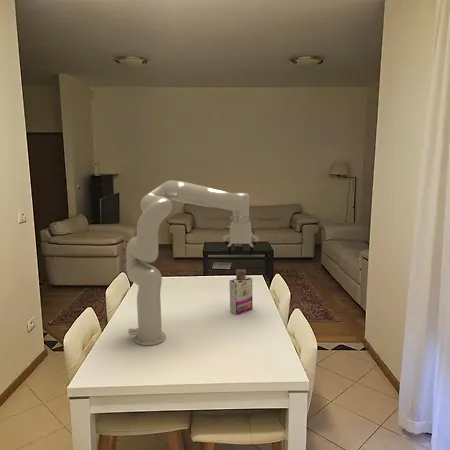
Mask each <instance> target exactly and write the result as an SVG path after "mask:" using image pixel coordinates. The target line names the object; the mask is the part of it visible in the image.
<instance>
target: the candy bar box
mask: <svg viewBox="0 0 450 450" xmlns="http://www.w3.org/2000/svg"><path fill="white" fill-rule="evenodd" d="M250 310H253V277H252V276H248V275H246V280H236V278H234V279H230V280H229V311H230V313H231V314H234V315H235V316H238V315H240V314H243V313H246V312H248V311H250Z"/></svg>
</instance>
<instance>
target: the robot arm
mask: <svg viewBox="0 0 450 450" xmlns="http://www.w3.org/2000/svg"><path fill="white" fill-rule="evenodd" d="M140 200H141V201H140V204H139V205H140V208H141V211H142V213H141V214H140V216H139V218H138V221H137V225H136V236H133V237H131V238H130V239H129V241H128V242H127V245H126V248H125V249H126V251H125V252H126V253H125V254H126V255H125V257H126V259H125V260H126V261H125V262H126V275H127V278H128V280H129V281H130V282H132V283H133V284H135V285H137V287H138V289H137V290H138V291H137V294H136V307H137V309H136V310H137V327H136V328H128V334H129V336H135V337H134V341H135V343H136V344H138V345H141V346H155V345H159V344H161V343H163V342H164V341H165V340H166V337H167V336H166V333H165V332H164V331H163V329H162V304H161V303H162V302H161V290H162V283H163V282H162V281H163V278H162V273H161V271H160V270H159V269H157V267H155V266H153V265H151V263H153V262H155V261H156V260H157V259H158V256H159V229H160V225H161V223H162V222H163V220H164V219H165V218H167V216H168V215H170V213H171V212H172V209H173V204H172V201H175V202H180V203H184V204H191V205H196V206H199V207H201V206H202V207H205V208H216V209H222V210H226V211H227V210H228V211H232V216H229V220H231V223H230V227H229V233H228V234H226V235H223V237H221V239H222V241H223V242H224V244H225V245H226V246H227V252H228V254H229V256H232V245H233V244H237V245H238V244H239V245H241V244H242V245H243V244H244V245H245V244H248V245H249V256H252V254H253V253H254V247H255V246H256V245H257V244H258V242H259V240H260V237H258V236H257V235H255V234H253V233H252V224H251V221H250V194H249V193H246V192H235V193H233V192H229V191H225V190H221V189H216V188H213V187H209V186H204V185H200V184H195V183H190V182H187V181H182V180H167V181H165V182H163V183H162V184H160V185H158V186H157V187H156V188H154V189H153V190H151V191H150V192H148V193H147V194H145V195H144V196H143V197H142V198H141V199H140ZM228 238H229V242H228V240H227V239H228ZM252 239H255V240H254V241H253V242H252Z"/></svg>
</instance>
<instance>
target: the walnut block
mask: <svg viewBox="0 0 450 450" xmlns="http://www.w3.org/2000/svg"><path fill="white" fill-rule="evenodd" d="M235 273H236V278H235V279H236V280H246V276H247V275H246V269H241V268H239V269H238V268H237V269H236V272H235Z"/></svg>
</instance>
